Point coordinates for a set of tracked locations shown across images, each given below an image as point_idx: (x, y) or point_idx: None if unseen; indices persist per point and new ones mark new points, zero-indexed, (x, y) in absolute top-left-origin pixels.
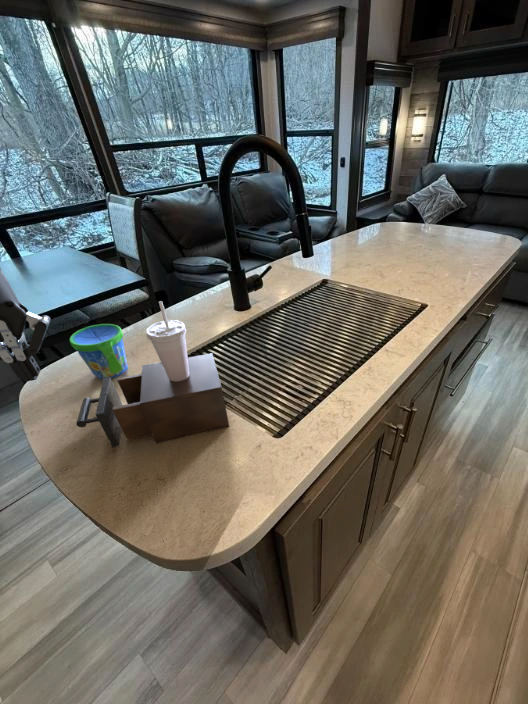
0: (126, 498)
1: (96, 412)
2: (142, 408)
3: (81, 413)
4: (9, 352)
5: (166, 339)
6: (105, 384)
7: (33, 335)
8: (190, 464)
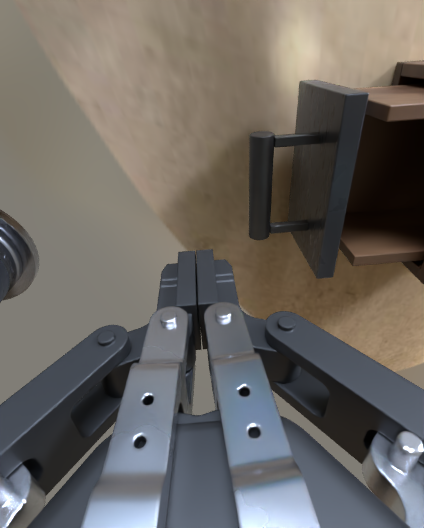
0: (301, 312)
1: (319, 272)
2: (415, 275)
3: (261, 212)
4: (192, 384)
5: None
6: (349, 146)
7: (349, 448)
8: (398, 277)
